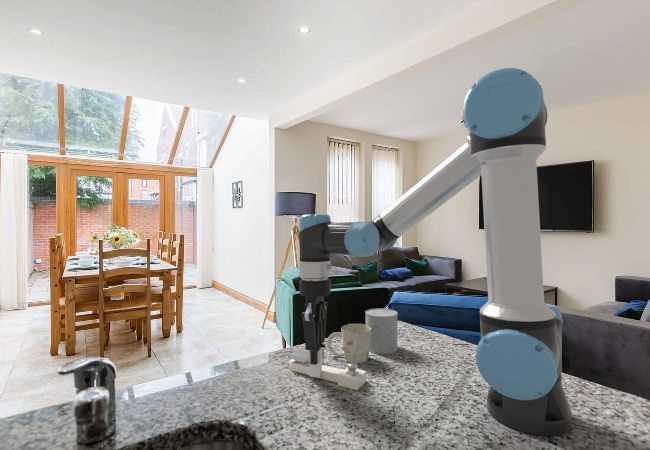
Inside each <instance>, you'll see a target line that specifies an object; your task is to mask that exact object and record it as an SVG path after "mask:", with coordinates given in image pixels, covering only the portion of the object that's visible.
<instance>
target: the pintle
mask: <svg viewBox="0 0 650 450" xmlns="http://www.w3.org/2000/svg"><path fill="white" fill-rule="evenodd" d="M358 365H359V363H355V362H347V363H346V368H348V375H352V376H355V375H356V369H359V368H358Z"/></svg>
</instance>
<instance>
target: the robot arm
mask: <svg viewBox="0 0 650 450" xmlns="http://www.w3.org/2000/svg"><path fill="white" fill-rule="evenodd" d="M462 116H463V120H464V124H465V126H466V128H467V129H468V131H469V133H468V134H467V135H466V141H465V143H464V144H462V145H461V146H460V147H459V148H458V149H456V150H455V151H454V152H453V153H451V154H450V155H449V156H448V157H447V158H446V159H444V160H443V161H442V162H441V163H440V164H439V165H437V166H436V167H434V168H433V169H432V170H431V171H430V172H429V173H428V174H426V175H425V176H424V177H423V178H421V179H420V180H419V181H418V182H416V183H415V185H413V186H412V187H410V188H409V189H408V190H407V191H406V192H404V193H403V194H402V195H401V196H400V197H399V198H397V199H396V200H395V201H394V202H392V204H390V205H389V206H388V207H387V208H386V209H384V210H383V211H382V212H380V214H378V215H377V216H376V217H375V218H374V219H372V220H371V221H352V222H351V221H350V222H347V221H346V222H333V221H331V216H330V215H329V214H328V213H327V214H324V213H321V214H320V213H319V214H318V213H316V214H315V213H313V214H312V213H311V214H310V213H309V214H302V215H301V216H300V218H299V226H298V227H299V228H298V242H299V243H298V244H299V261H298V265H299V266H298V269H299V270H298V272H299V273H298V277H300V278H301V279H300V280H299V281H298V282H299V283H298V284H299V294H300V296H303V297H305V298H306V299H305V303H304V310H305V312H304V311H302V312H301V314H300V315H301V320H302V325H303V326H302V327H303V334H304V335H303V336H304V338H303V339H304V345H305V346H304V347H305V350H309V375H308V376H309V377H311V378H318V379H321V378H320V377H321V376H322V365H323V364H322V349H321V348H323V349H325V348H326V344H324V343H325V341H326V328H327V327H326V324H327V311H328V305H329V304H328V302H327V301H325V297H327V296H330V294H331V288H332V287H331V284H332V283H331V282H332V281H331V279H330V278H329V277H331V270H332V269H333V267H334V266H333V265H332V264H331V255H332V256H333V255H336V256H337V255H338V256H351V257H357V258H360V257H370V256H374V255H375V253H377V252H384V251H385V252H386V251H387V250H389V249H391V248H393V247H394V246H395V245H396V243H397V241H398V239H400V238H401V237H402V236H403V235H405V234H406V233H407V232H409V231H410V230H411V229H412V228H414V227H415V226H416V225H418V224H419V223H420V222H421V221H423V220H424V219H425V218H427V217H428V216H430V215H431V214H432V213H433V212H435V211H436V210H438V209H439V208H440V207H441V206H443V205H444V204H445V203H447V202H448V201H450V200H451V199H452V198H453V197H455V196H456V195H457V194H459V193H460V192H461V191H462V190H464V189H465V188H467V187H468V186H469V185H471V184H472V183H474V181H476V180H477V179H479V177H481V189H482V190H481V191H482V192H481V193H482V206H483V208H482V209H483V223H484V224H483V226H484V228H483V229H484V243H485V260H486V261H485V263H486V279H487V281H486V282H487V301H486V302H485V303H484V304H483V305H482V306H481V307H480V308H479V323H480V340H479V342H478V344H477V346H476V350H475V362H476V366H477V370H478V372H479V373H480V375H481V377H482V378H483V380H484V381H485V382H486V383H487V384H488V385H489V386H490V387H489V390H488V392H487V395H486V409H487V411H488V413H489V414H490V415H491V416H492V418H494V419H495V420H497V421H498V422H499V423H501V424H503V425H505V426H507V427H509V428H511V429H514V430H517V431H519V432H522V433H527V434H530V435H537V436H545V437H546V436H551V437H553V436H554V437H555V436H561V435H564V434H567V433H569V432H570V431H571V430H572V428H573V413H572V410H571V409H572V408H571V406H570V404H569V400H568V398H567V395H566V392H565V389H564V386H563V384H562V380H563V379H562V366H563V365H562V361H563V360H562V355H563V354H562V353H563V351H562V349H563V348H562V347H563V345H562V343H563V342H562V339H563V338H562V336H563V335H562V334H563V331H562V330H563V328H562V327H563V323H564V319H563V316H562V310H561V309H560V307H558V306H556V305H554V304H550V303H546V302H545V293H544V291H545V290H544V275H543V259H542V258H543V257H542V256H543V255H542V241H541V240H542V239H541V222H540V220H541V219H540V207H539V206H540V205H539V204H540V203H539V188H538V187H539V185H538V168H537V160H538V158H539V157H540V156H541V155H542V154H543V153H544V152H545V151H546V150H547V141H546V139H547V138H546V136H547V135H546V125H547V123H548V110H547V106H546V103H545V99H544V92H543V88H542V85H541V84H540V83H539V81H538V80H537V78H536V77H534V76H533V75H532V74H530V73H529V72H527V71H525V70H523V69H519V68H516V67H503V68H499V69H495V70H492V71H490V72H488V73H486V74H484V75H482V76H481V77H480V78H479V79H478V80H476V81H475V83H473V85H472V86H471V87H470V88H469V89H468V91H467V93H466V95H465V97H464V100H463V104H462Z"/></svg>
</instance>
